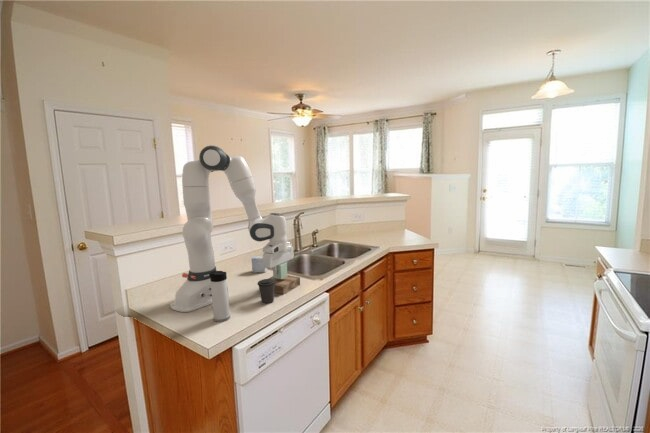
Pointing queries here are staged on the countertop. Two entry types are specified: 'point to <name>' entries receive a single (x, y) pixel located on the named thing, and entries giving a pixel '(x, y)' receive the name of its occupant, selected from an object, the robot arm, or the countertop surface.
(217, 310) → the travel mug
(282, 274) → the sage block
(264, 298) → the coffee cup
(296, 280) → the walnut base
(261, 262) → the medicine box
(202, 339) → the countertop surface
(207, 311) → the countertop surface
